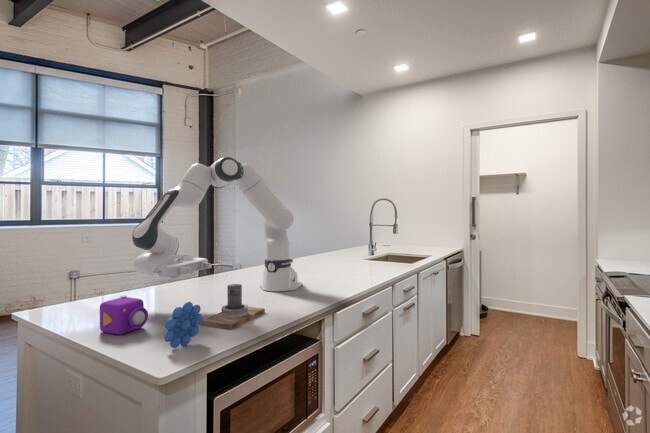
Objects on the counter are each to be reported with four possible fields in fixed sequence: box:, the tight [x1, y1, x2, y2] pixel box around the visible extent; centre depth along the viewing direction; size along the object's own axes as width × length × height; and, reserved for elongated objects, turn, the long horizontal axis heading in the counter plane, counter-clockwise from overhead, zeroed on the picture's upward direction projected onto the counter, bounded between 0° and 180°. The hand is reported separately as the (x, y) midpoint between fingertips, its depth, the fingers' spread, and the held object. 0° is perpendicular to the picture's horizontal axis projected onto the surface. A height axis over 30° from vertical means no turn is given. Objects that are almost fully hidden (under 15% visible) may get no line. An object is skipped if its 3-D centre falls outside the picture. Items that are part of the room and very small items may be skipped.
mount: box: [200, 303, 266, 330], centre depth 126 cm, size 20×12×4 cm, turn 159°
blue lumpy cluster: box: [163, 301, 204, 349], centre depth 101 cm, size 12×7×12 cm, turn 144°
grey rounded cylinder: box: [226, 283, 243, 310], centre depth 126 cm, size 5×5×10 cm
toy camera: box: [99, 295, 149, 336], centre depth 113 cm, size 11×14×10 cm
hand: (201, 268), depth 131 cm, fingers open, 8 cm apart
